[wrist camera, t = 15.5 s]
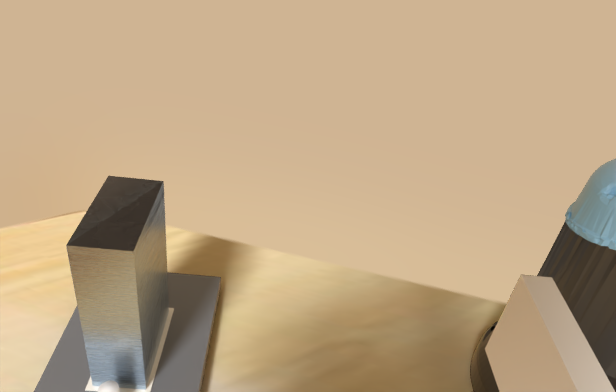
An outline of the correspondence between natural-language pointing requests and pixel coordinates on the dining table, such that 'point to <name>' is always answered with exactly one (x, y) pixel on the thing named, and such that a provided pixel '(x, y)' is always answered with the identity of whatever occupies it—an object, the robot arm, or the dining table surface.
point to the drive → (122, 280)
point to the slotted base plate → (171, 352)
